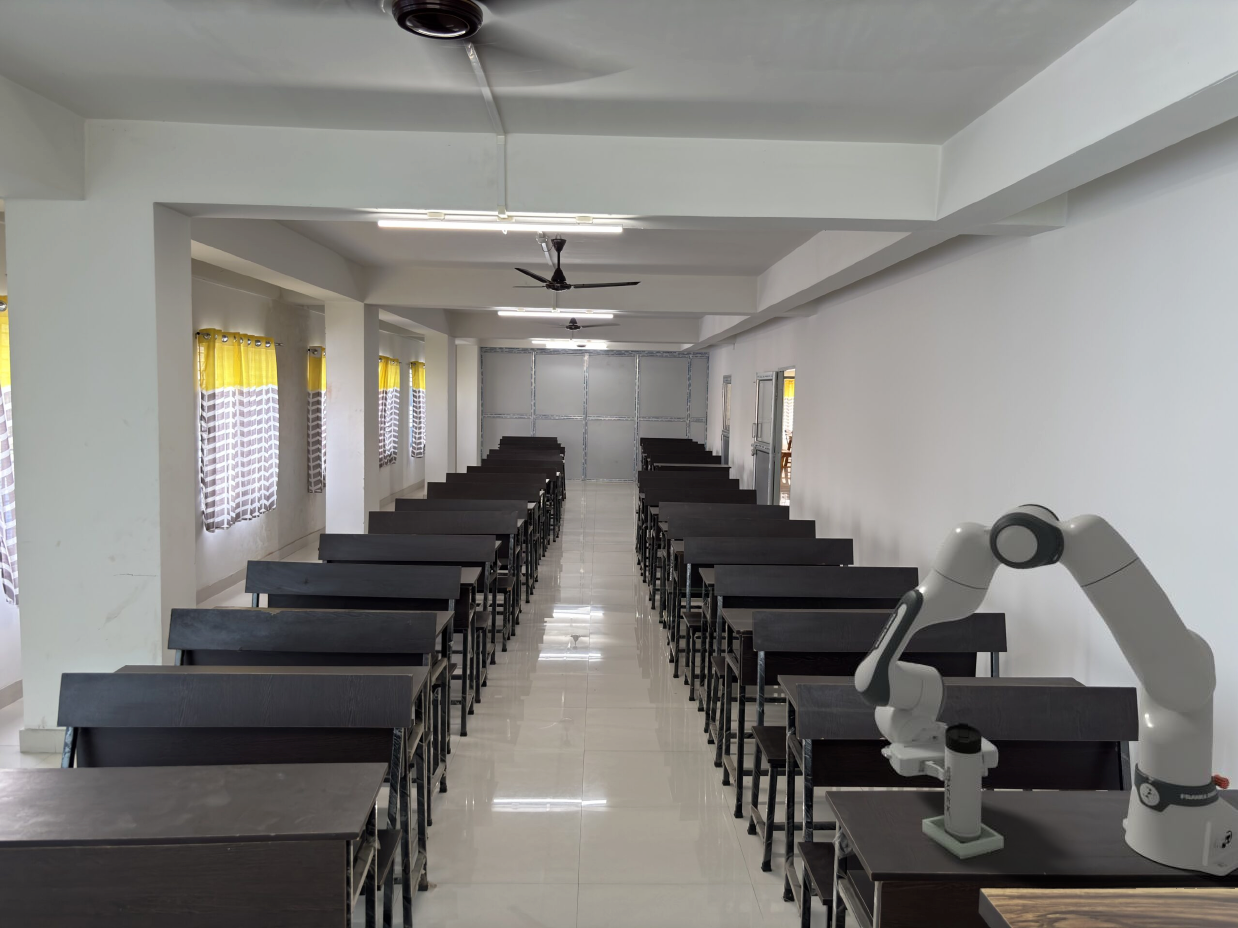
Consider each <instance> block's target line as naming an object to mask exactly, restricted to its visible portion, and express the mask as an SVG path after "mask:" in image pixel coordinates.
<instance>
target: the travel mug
mask: <svg viewBox="0 0 1238 928" xmlns="http://www.w3.org/2000/svg"><path fill="white" fill-rule="evenodd" d="M957 724H958V725H951V726H949V727H948V728H947V729H946V731H945V740H946V742H945V768H946V769H947V770H949V772H950V775H949V777H950V779H949V780H944V810H943V811H944V814H943V815H944V822H945V824H944V831H945V833H947V834H948V835H949V836H951V837H952V838H954V839H955V840H957V841H959V842H965V843H969V842H973V841H977V840H979V839H980V838H981V823H982V777H983V776H982V746H981V744H982V737H983V736H982V733H981V731H980V730H979V729H977V728H976V727H973V726H971V725H969V723H966V722H964V723H963V722H957Z"/></svg>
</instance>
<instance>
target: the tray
mask: <svg viewBox="0 0 1238 928" xmlns="http://www.w3.org/2000/svg"><path fill="white" fill-rule="evenodd" d="M921 821H922V822H921V823H922V832H923V833H924V834H925V835H927V836H929V838H931V839H933V840H934V841H936V842H937V843H938V844H939V845H941V846H943V847H944V848H946V849H947V850H948V851H949V852H951V853H952V854H953V855H955V856H956V857H958V859H960V860H963V859H967V858H971V857H976V856H979V855H984V854H988V853H991V851H993V852H995V851H994V850H997V849H1000V848H1003V849H1004V841H1005V840H1004V836H1002V835H1001V834H1000V833H998V832H997V831H995V830H993V829H992V828H990V827H988V826H987V825H985V824H984V823H983V822H981V838H980V839H979V840H977V841H973V842H969V843H965V842H959V841H957V840H955V839H954V838H952V837H951V836H949V835H948V834H947V833H945V831H944V824H945V822H944V814H943V815H939V816H934V817H930V818H925V819H922V820H921ZM997 851H998V850H997ZM987 852H988V853H987Z"/></svg>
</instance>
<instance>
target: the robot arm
mask: <svg viewBox="0 0 1238 928" xmlns="http://www.w3.org/2000/svg"><path fill="white" fill-rule="evenodd" d="M1058 563H1060V564H1061V565H1062V566H1064V568H1066V569H1067V570H1068V572H1069V573H1070V574H1071V576H1072V577H1073V579H1074V581H1076V583H1077V584H1078V586H1079V587H1080V589H1081V590H1082V592H1083V593H1084V594H1085V596H1086V597H1087V599H1088V600H1089V601H1090V603H1091V604H1092V606H1093V607H1094V609H1095V610H1096V611H1097V613H1098V614H1099V615H1100V617H1101V618H1102V620H1103V622H1104V623H1105V624H1106V626H1107V627H1108V630H1109V631H1110V633H1111V634H1112V637H1113V638H1114V641H1115V642H1116V645H1118V648H1119V649H1120V651H1121V652H1122V655H1123V656H1124V658H1125V659H1126V661H1127V663H1128V665H1129V666H1130V668H1131V670H1132V671H1133V672H1134V674H1135V676H1136V677H1137V679H1138V681H1139V682H1140V696H1139V713H1138V714H1139V716H1138V718H1139V719H1138V744H1137V745H1138V748H1137V763H1135V764H1134V765H1135V766H1134V771H1133V776H1134V777H1133V778H1134V779H1133V780H1134V782H1133V784H1134V785H1133V786H1132V788H1131V791H1130V798H1129V802H1128V803H1129V805H1128V812H1127V818H1123V821H1122V827H1123V828H1124V830H1125V835H1124V839H1125V842H1126V843H1127V845H1128V846H1129V847H1130V848H1131V849H1133V850H1134V851H1135V852H1137V853H1138V854H1140V855H1142V856H1144V857H1145V858H1147V859H1150V860H1152V861H1155V862H1157V863H1159V864H1162V865H1166V866H1170V867H1175V868H1178V869H1185V870H1193V871H1201V872H1204V873H1208V874H1212V875H1215V876H1226V875H1228V874H1229V873H1231V872H1232V871H1234V870H1236V869H1238V810H1237V809H1236V808H1235V807H1233V805H1231V804H1230V803H1228V802H1227V801H1226V800H1225V799H1224V798H1222V797H1221V796H1220V795H1219V793H1218V792H1219V791H1218V788H1217V787H1219V788H1220V789H1222V790H1227V789H1228V788H1229V787H1230V780H1229V778H1227V777H1224V776H1221V775H1219V774H1215V775H1212V773H1213V772H1212V771H1213V749H1214V747H1213V745H1214V740H1213V739H1214V693H1215V691H1216V686H1217V677H1216V675H1217V674H1216V664H1215V657H1214V653H1213V650H1212V648H1211V646H1210V644H1209V643H1208V642H1207V641H1206V640H1205V639H1204V637H1202V636H1201V635H1200V634H1198V633H1197V632H1195V631H1193V630H1192V629H1189V628H1187V626H1186V625H1185V623H1184V621H1183V620H1182V618H1181V617H1180V615H1179V613H1178V612H1177V611H1176V609H1175V607H1174V606H1173V604H1172V601H1170V599H1169V596H1168V594H1167V593H1166V592H1165V590H1164V589H1163V588H1162V587H1161V585H1160V584H1159V582H1158V581H1157V580H1156V579H1155V577H1154V576H1153V574H1152V573H1151V572H1150V570H1149V569H1148V567H1147V566H1146V565H1145V564H1144V562H1143V561H1142V559H1141V558H1140V557H1139V555H1138V554H1137V552H1136V551H1135V550H1134V548H1132V546H1131V545H1130V543H1128V541H1127V540H1126V539H1125V538H1124V537H1123V536H1122V535H1121V534H1120V533H1119V532H1118V531H1117V529H1115V528H1114V527H1113V526H1112V524H1110V523H1109V522H1108V521H1107V520H1106V519H1105V518H1103V517H1101V516H1100V515H1098V514H1097V515H1096V514H1093V513H1092V514H1091V513H1089V514H1080V515H1077V516H1074V517H1073V518H1072V517H1071V518H1070V519H1068V520H1064V521H1061V520H1060V519H1059V518H1058V515H1056V513H1055V512H1054V511H1052V510H1051V509H1049V508H1048V507H1046V506H1043V505H1040V504H1035V503H1026V504H1022V505H1019V506H1017V507H1014V508H1011V509H1009V510H1008V511H1006V512H1005V513H1004V514H1002V515H1001V516H1000V517H999V518H998V519H997V520H996V521H995V522H994V523H993V525H990V526H989V525H985V524H981V523H978V522H973V521H972V522H971V521H966V522H961V523H958V524H957V525H955V526H954V527H953V528H952V530H951V531H950V532H949V534H948V535H947V537H946V538H945V540H944V542H943V543H942V545H941V548H939V551H938V554H937V555H936V558H935V559H934V562H933V565H932V567H931V569H930V571H929V573H928V574H927V576H926V577H925V578H924V580H922V582H920V583H919V584H918V586H916V587H915V588H913V589H912V590H909V591H907V592H906V593H904V595H903V596H902V597H901V599H899V602H898V603H897V604H896V607H895V608H894V610H893V612H892V613H891V614H890V616H889V618H888V620H887V622H886V623H885V625H884V627H883V628H882V630H881V632H880V633H879V635H878V637H877V639H876V641H875V642H874V644H873V646H872V647H871V648H870V650H869V651H868V652H867V654H866V656H865V657H864V658H863V659H862V660H861V661H860V663H859V664H858V666H857V668H856V669H855V671H854V676H853V685H854V686H853V687H854V689H855V691H856V693H857V694H858V696H859V698H860V699H861V700H862V701H863V702H864V703H865V704H866V705H867V706H870V707H876V708H875V711H874V719H875V723H876V726H877V727H878V730H879V731H880V733H881V734H882V735H883V736H884V737H885V739H886V740H888V741H889V742H890V743H891V744H890V745H886V746H884V747H883V748H882V749H881V754H882V755H883V756H884V757H885V758H887V759H889V763H890V765H891V767H892V768H893V769H894V770H895V771H896V773H898V774H899V775H901V776H903V777H904V776H905V777H913V776H921V775H928V776H932V777H935V778H938V779H939V780H941V781H945V780H949V779H950V777H949V775H950V772H949V770H947V769H946V768H945V742H946V740H945V731H946V729H947V728H948V727H949V726H951V725H958V723H945V722H942V721H941V722H940V721H938V719H939V718H940V716H941V714H942V712H943V711H944V708H945V706H946V703H947V697H948V691H947V690H948V689H947V687H946V686H947V685H946V683H945V680H944V678H943V676H942V674H941V673H940V672H939V670H937V668H935V667H934V666H929V665H924V664H919V663H914V662H907V661H902V660H899V658H900V657H901V655H902V653H903V651H904V650H905V649H906V646H907V645H908V643H909V641H910V640H911V638H912V637H913V636H914V634H916V632H917V631H919V630H921V629H922V628H925V627H927V626H931V625H934V624H938V623H944V622H945V623H946V622H951V621H952V622H953V621H954V622H955V621H958V620H961V619H965V618H967V617H970V616H971V615H973V614H974V613H975V612H976V611H977V610H978V609H979V608H980V607H981V605H982V604H983V602H984V600H985V597H986V596H987V592H988V590H989V587H990V585H991V583H992V580H993V578H994V575H995V573H996V571H997V569H998V568H999V567H1000V565H1004V566H1006V567H1008V568H1011V569H1015V570H1030V569H1031V570H1032V569H1035V568H1039V567H1040V568H1041V567H1045V566H1051V565H1056V564H1058ZM981 746H982V777H987V776H988V775H989V771H988V770H989V769H991V768H996V767H997V766H998V762H999V751H998V748H997V747H996V746H995V745H994V744H993V743H991V741H989V740H988V739H986V738H984V737H983V736H982V744H981ZM988 768H989V769H988Z"/></svg>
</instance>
